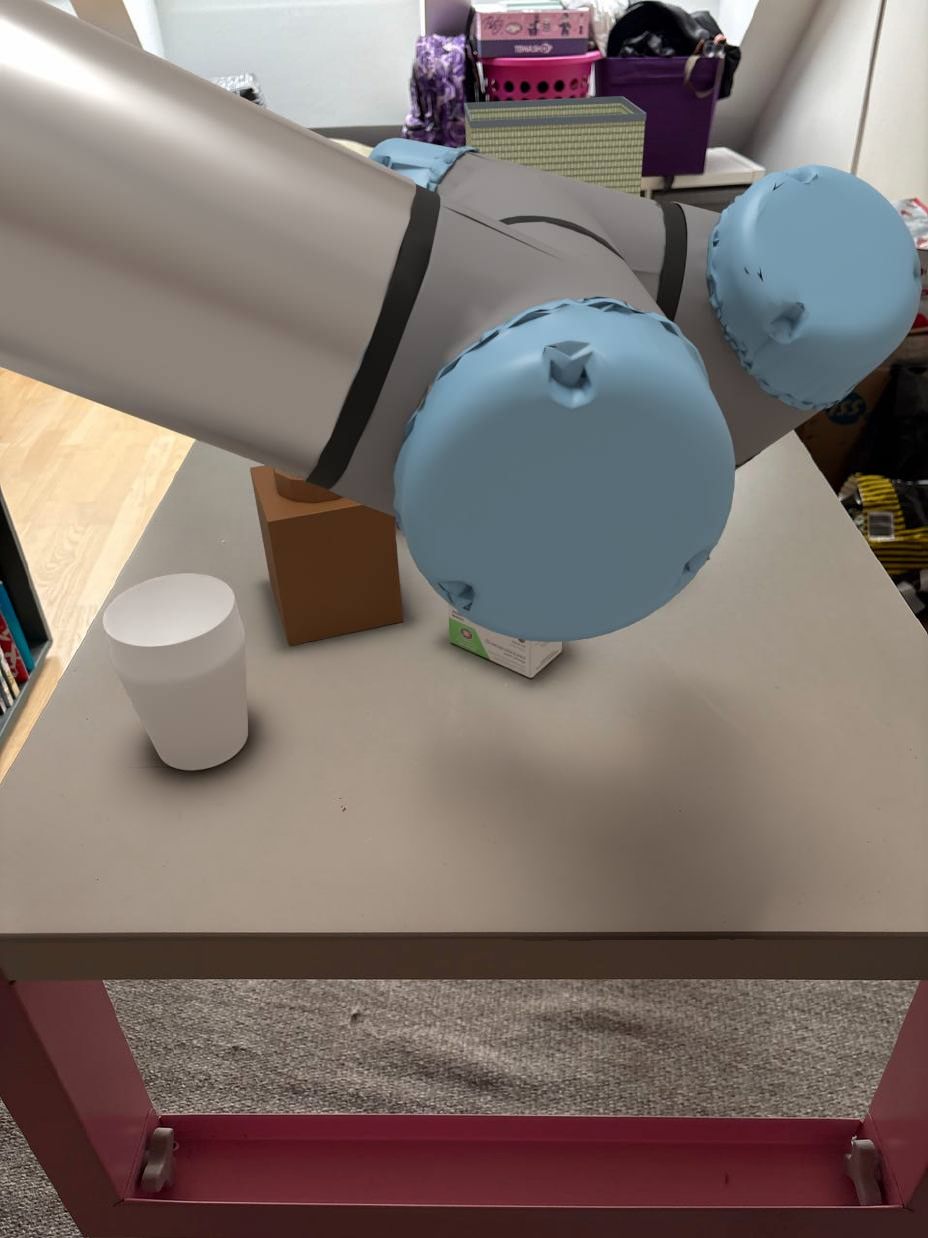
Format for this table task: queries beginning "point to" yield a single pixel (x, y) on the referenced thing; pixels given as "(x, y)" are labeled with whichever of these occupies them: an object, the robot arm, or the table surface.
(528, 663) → the ink box
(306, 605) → the brown tall block
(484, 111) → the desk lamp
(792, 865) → the table surface
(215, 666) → the cup
